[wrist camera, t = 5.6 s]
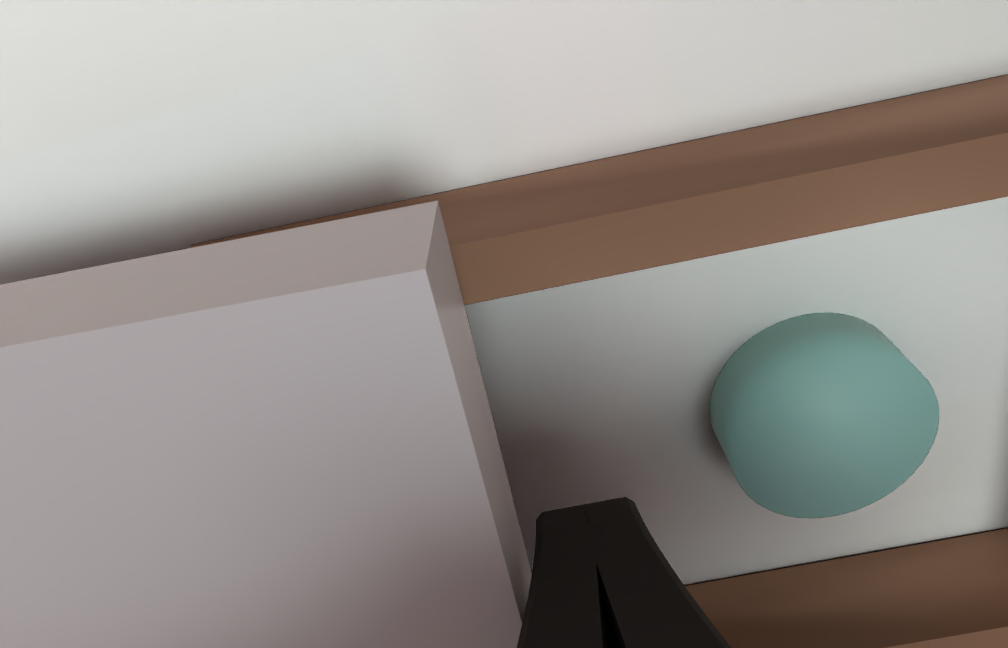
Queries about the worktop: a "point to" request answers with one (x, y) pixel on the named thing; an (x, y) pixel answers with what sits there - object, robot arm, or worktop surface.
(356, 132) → the worktop surface
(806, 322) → the teal disc
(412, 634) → the lid
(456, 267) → the frame
